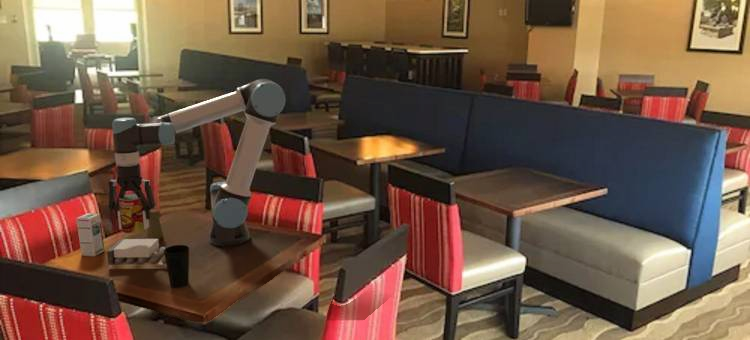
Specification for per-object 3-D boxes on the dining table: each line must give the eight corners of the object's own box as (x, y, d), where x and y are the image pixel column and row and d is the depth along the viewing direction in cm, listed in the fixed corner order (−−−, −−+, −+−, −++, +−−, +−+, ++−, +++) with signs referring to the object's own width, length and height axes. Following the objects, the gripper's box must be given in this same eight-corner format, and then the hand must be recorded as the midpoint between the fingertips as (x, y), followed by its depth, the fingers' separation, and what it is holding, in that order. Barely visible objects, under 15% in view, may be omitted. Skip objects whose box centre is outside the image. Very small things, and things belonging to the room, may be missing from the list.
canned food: (117, 230, 212) (114, 197, 209) (137, 224, 218) (134, 192, 215) (131, 235, 208) (128, 201, 205) (151, 228, 214) (148, 195, 211)
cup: (170, 279, 201) (167, 245, 198) (194, 278, 202) (191, 244, 199) (164, 289, 193) (161, 254, 191) (189, 288, 194) (186, 253, 191)
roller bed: (183, 255, 222) (182, 238, 220) (173, 268, 210) (171, 250, 209) (122, 256, 222) (120, 239, 220) (108, 269, 210) (106, 251, 208)
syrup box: (95, 256, 221) (90, 218, 218) (80, 255, 222) (75, 217, 219) (105, 251, 227) (100, 213, 223) (90, 250, 228) (86, 212, 224)
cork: (166, 236, 242) (164, 209, 239) (153, 240, 237) (151, 213, 234) (156, 233, 245) (154, 207, 242) (143, 237, 240) (141, 211, 238)
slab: (159, 246, 220) (158, 238, 219) (149, 257, 210) (148, 248, 209) (125, 247, 220) (124, 239, 219) (114, 257, 210) (113, 249, 209)
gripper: (92, 166, 204) (99, 231, 209) (154, 166, 204) (160, 231, 209) (102, 161, 211) (108, 224, 216) (162, 161, 211) (167, 224, 216)
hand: (134, 227), depth 213 cm, fingers closed on canned food, 8 cm apart
